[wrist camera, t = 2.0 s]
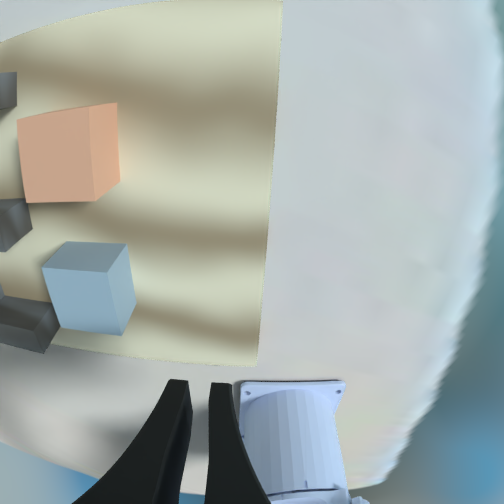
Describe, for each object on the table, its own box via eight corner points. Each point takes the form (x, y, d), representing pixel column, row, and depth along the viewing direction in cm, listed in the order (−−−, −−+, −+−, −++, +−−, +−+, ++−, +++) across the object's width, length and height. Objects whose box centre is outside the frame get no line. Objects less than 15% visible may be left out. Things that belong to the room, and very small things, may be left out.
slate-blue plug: (136, 302, 18) (121, 336, 16) (80, 297, 18) (61, 327, 16) (127, 243, 17) (107, 272, 14) (66, 241, 16) (41, 267, 14)
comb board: (256, 361, 21) (256, 401, 18) (2, 328, 21) (-18, 354, 18) (281, 3, 11) (290, -21, 8) (-52, 70, 11) (-87, 76, 8)
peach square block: (120, 181, 15) (95, 201, 12) (56, 183, 15) (26, 203, 12) (117, 102, 13) (88, 106, 10) (50, 111, 13) (16, 119, 10)
